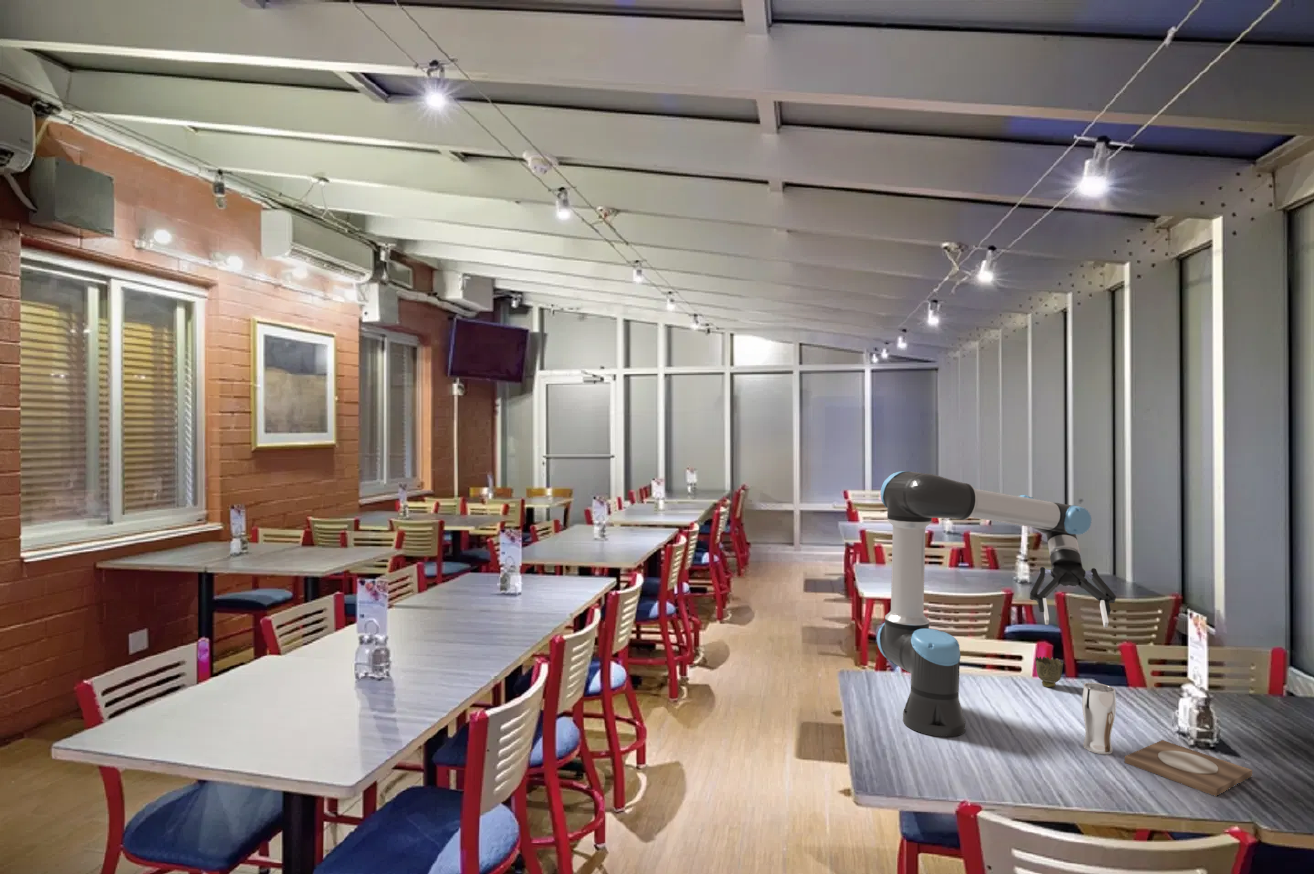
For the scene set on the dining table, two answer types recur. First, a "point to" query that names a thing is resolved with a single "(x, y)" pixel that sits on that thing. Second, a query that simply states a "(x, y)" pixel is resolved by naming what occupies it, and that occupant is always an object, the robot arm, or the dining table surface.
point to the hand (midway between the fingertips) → (1076, 623)
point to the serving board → (1189, 767)
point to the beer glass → (1098, 717)
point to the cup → (1049, 670)
